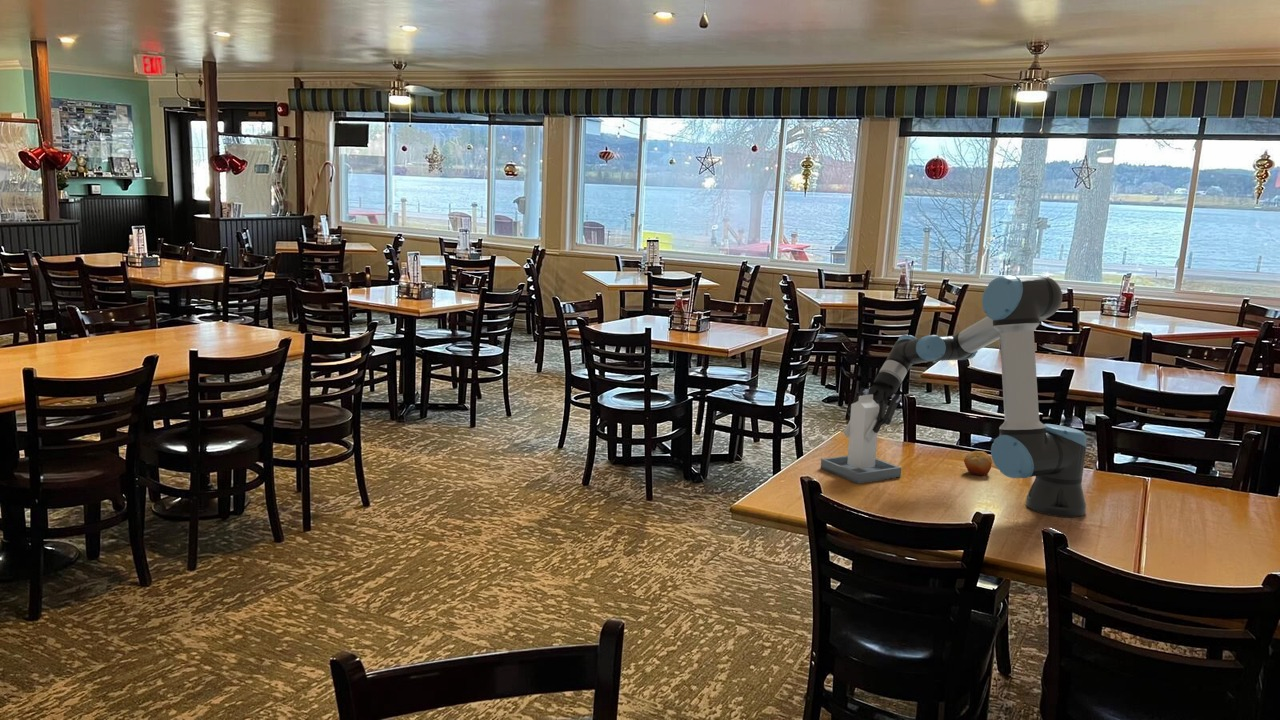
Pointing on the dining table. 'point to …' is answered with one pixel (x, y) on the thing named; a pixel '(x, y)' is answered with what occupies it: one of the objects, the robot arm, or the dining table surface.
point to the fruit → (978, 462)
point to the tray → (860, 470)
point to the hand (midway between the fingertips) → (856, 436)
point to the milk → (862, 433)
